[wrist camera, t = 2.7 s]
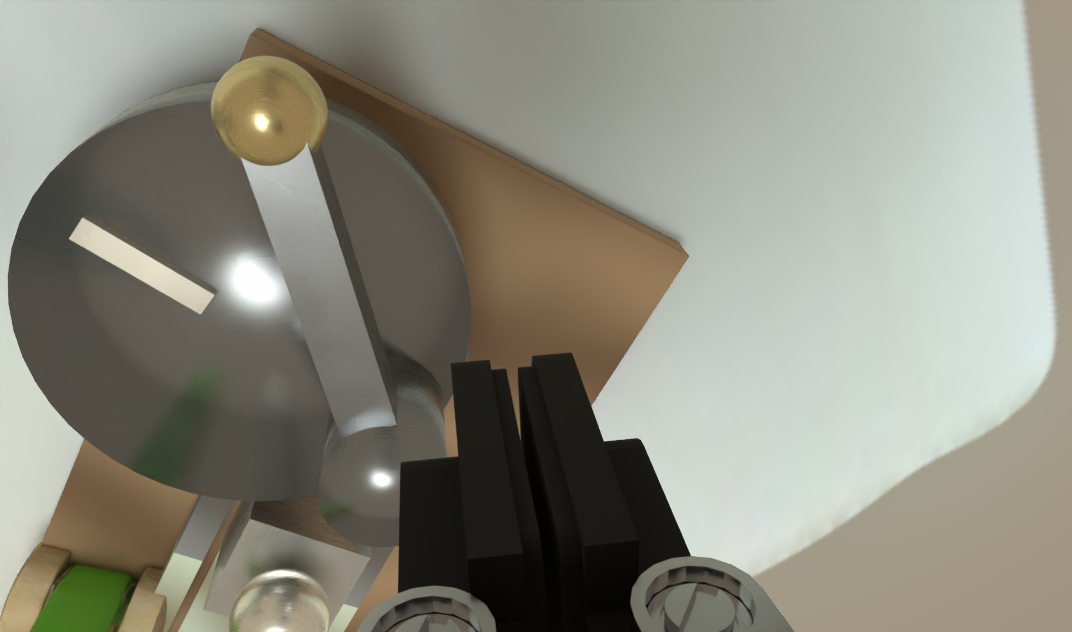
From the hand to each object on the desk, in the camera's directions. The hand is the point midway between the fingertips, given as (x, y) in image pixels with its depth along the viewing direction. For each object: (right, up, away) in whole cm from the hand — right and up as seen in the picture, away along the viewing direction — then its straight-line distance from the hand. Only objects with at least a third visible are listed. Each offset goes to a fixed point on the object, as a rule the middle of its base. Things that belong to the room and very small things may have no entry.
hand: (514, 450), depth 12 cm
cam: (-7, +3, +14) cm, 17 cm away
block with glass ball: (-8, -5, +19) cm, 21 cm away
